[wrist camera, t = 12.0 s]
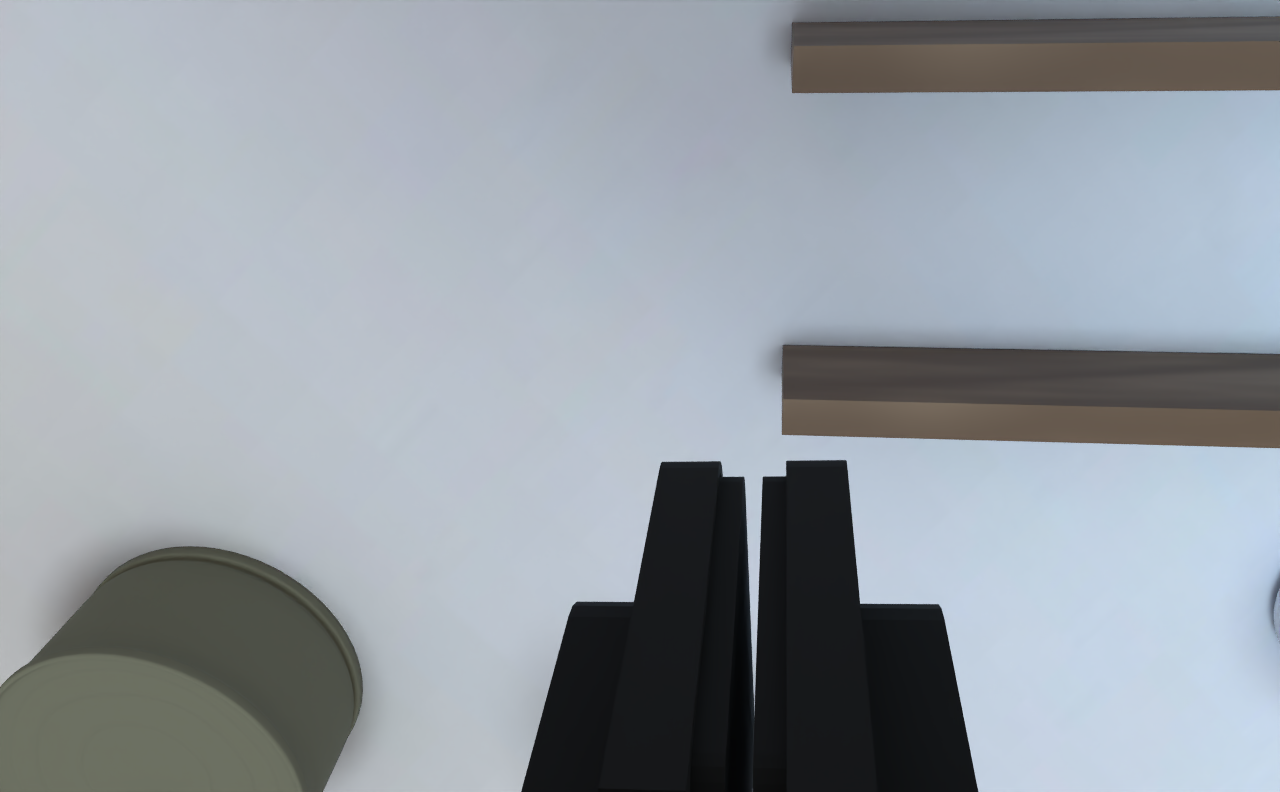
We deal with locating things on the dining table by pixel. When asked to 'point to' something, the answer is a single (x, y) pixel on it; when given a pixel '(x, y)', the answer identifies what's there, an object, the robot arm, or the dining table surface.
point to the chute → (1034, 379)
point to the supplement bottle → (1277, 615)
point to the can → (184, 685)
